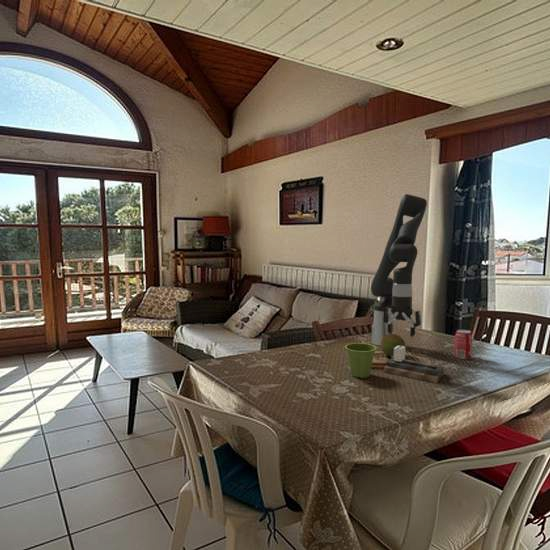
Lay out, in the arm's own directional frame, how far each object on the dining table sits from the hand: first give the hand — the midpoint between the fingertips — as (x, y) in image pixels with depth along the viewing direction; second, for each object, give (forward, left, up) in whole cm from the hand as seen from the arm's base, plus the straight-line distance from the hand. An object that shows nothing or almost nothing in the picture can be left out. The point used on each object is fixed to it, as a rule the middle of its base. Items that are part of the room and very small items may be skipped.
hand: (401, 334), depth 158 cm
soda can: (+17, +33, -15) cm, 40 cm away
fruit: (-8, +16, -15) cm, 23 cm away
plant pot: (-10, -15, -15) cm, 24 cm away
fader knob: (0, 0, -12) cm, 12 cm away
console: (+6, 0, -15) cm, 15 cm away
